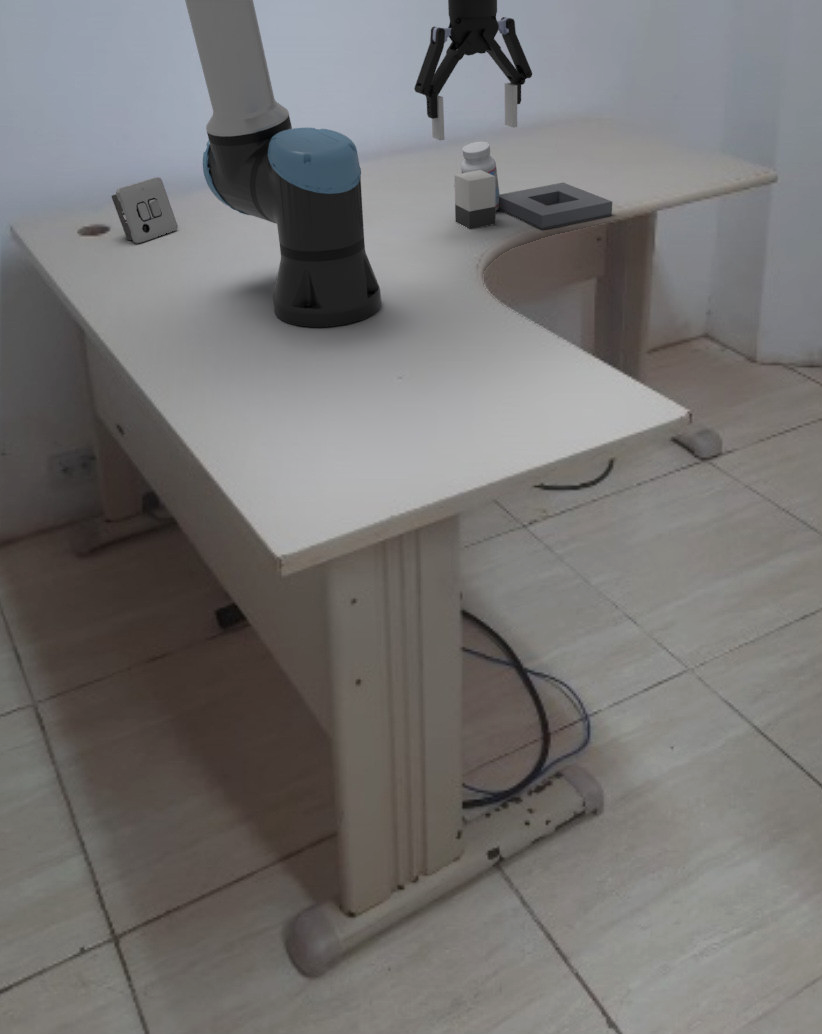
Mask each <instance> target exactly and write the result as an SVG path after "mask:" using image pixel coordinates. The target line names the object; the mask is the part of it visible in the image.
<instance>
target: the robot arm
mask: <svg viewBox="0 0 822 1034" xmlns="http://www.w3.org/2000/svg"><path fill="white" fill-rule="evenodd" d="M184 1H185V5H186V9H187V13H188V17H189V21H190V25H191V29H192V33H193V36H194V41H195V45H196V49H197V53H198V56H199V61H200V64H201V68H202V74H203V76H204V80H205V84H206V87H207V88H206V89H207V91H208V92H207V93H208V96H209V101H210V104H211V107H212V115H211V117H210V118H209V120H208V122H207V124H206V126H205V129H206V134H207V137H208V138H207V139H208V141H207V142H206V149H205V151H203V155H202V171H203V175H204V180H205V182H206V185H207V186H208V188H209V190H210V191H211V193H212V194H213V195H214V196H215V198H216V199H217V200H218V201H220V202H221V203H223V204H224V205H225V206H228V207H229V208H230V209H232V210H234V211H236V212H238V213H239V214H242V215H247V216H252V217H255V218H259V219H262V220H264V221H268V222H270V223H272V224H273V223H274V224H276V226H277V233H278V243H279V250H280V251H279V252H280V261H279V266H278V267H279V268H278V272H277V276H276V279H275V280H276V281H275V286H274V291H273V295H272V296H273V297H272V301H273V308H274V314H275V315H276V317H277V318H279V320H281V321H283V322H285V323H288V324H291V325H295V326H301V327H309V328H310V327H312V328H313V327H314V328H316V327H318V328H321V327H322V328H324V327H337V326H343V325H349V324H353V323H356V322H360V321H362V320H365V319H367V318H369V317H371V316H373V315H374V314H376V313H377V312H378V311H379V310H380V308H381V306H382V295H381V294H382V293H381V288H380V285H379V282H378V280H377V277H376V275H375V272H374V270H373V267H372V265H371V262H370V260H369V257H368V255H367V252H366V245H365V232H364V231H365V229H364V214H363V198H362V179H361V178H362V170H361V169H362V168H361V166H360V161H359V154H358V150H357V146H356V144H355V143H354V142H353V140H352V139H351V138H349V137H348V136H347V135H345V134H343V133H341V132H338V131H335V130H332V129H327V128H320V129H318V128H315V127H295V128H293V127H292V122H291V117H290V113H289V111H288V108H286V107H285V106H283V105H282V104H280V103H279V102H277V101H276V99H275V95H274V90H273V86H272V82H271V77H270V72H269V68H268V67H269V66H268V63H267V59H266V58H267V57H266V55H265V49H264V45H263V41H262V36H261V32H260V31H261V30H260V27H259V22H258V17H257V13H256V9H255V4H254V0H184ZM447 3H448V4H447V5H448V6H447V7H448V8H447V10H448V17H449V24H448V27H438V26H435V25H434V26H433V27H431V28H430V29H431V30H430V37H429V38H430V39H429V41H430V42H429V45H428V48H427V51H426V53H425V56H424V59H423V62H422V65H421V68H420V71H419V72H418V77H417V80H416V83H415V85H414V91H415V93H418V94H421V95H424V96H425V99H426V114H427V115H426V116H427V117H428V118H429V119H431V125H432V126H431V127H432V129H431V130H432V138H433V139H436V140H438V141H444V140H445V138H446V137H445V118H444V117H445V114H444V97H443V96H442V95H439V94H440V93H441V91H442V89H443V88H444V86H445V84H446V83H447V81H448V79H449V78H450V77H451V74H452V73H453V71H454V70H455V68H456V66H457V65H458V63H459V62H460V61H461V60H462V59H463V58H464V56H473V55H476V54H486V53H488V55H489V56H490V57H491V59H492V60H493V61H494V63H495V65H497V66H498V68H499V69H500V71H501V72H502V73H503V75H504V76H505V77H506V79H507V80H509V82H505V83H504V125H505V126H507V127H510V128H517V127H518V105H521V102H522V86H523V85H524V84H525V83H526V80H527V79H531V77H533V72H532V69H531V66H530V64H529V62H528V59H527V56H526V55H525V52H524V50H523V48H522V45H521V42H520V40H519V38H518V35H517V34H516V33H517V32H516V23H515V22H516V21H515V19H514V18H511V17H507V16H503V17H501V19H500V20H498V19H497V14H498V0H448V1H447ZM498 32H499V34H501V36H502V39H503V41H504V44H505V46H506V49H507V51H508V54H509V55H510V58H511V60H512V62H511V60H510V59H509V58H508V57H507V55H506V54H505V52H504V51H503V50H502V47H501V45H500V44H499V43H498V42H497V40H496V39H495V37H496V35H497V34H498ZM448 38H449V39H450V41H451V42H450V45H449V46H448V48H447V49H446V51H445V52H446V53H445V56H443V59H442V60H441V62H440V59H441V56H442V54H443V50H444V49H445V48H444V47H445V43H446V42H447V41H448ZM439 62H440V64H439ZM437 67H438V68H437Z"/></svg>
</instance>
